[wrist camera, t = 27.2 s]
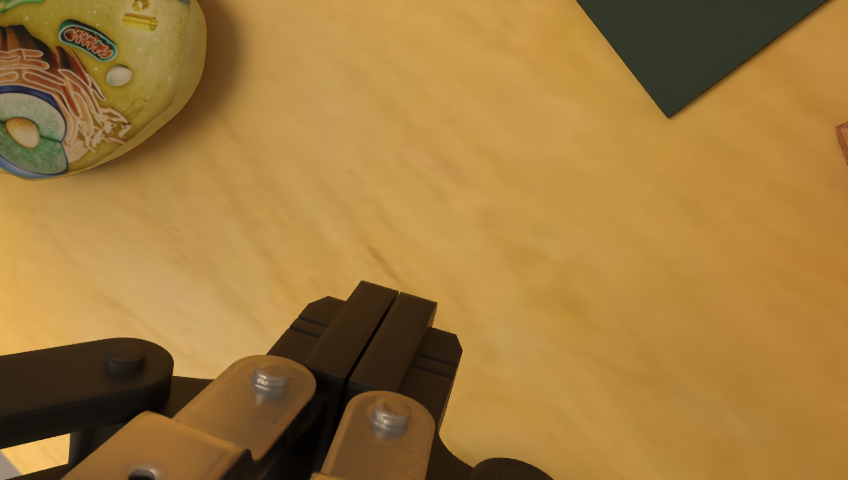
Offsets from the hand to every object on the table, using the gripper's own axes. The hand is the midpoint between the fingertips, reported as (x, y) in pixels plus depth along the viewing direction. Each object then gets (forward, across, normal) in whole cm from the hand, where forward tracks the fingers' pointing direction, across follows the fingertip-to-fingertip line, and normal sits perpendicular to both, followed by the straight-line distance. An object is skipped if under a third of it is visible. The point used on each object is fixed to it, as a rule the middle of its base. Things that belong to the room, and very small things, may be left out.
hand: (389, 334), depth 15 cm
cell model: (+25, +22, +3) cm, 33 cm away
